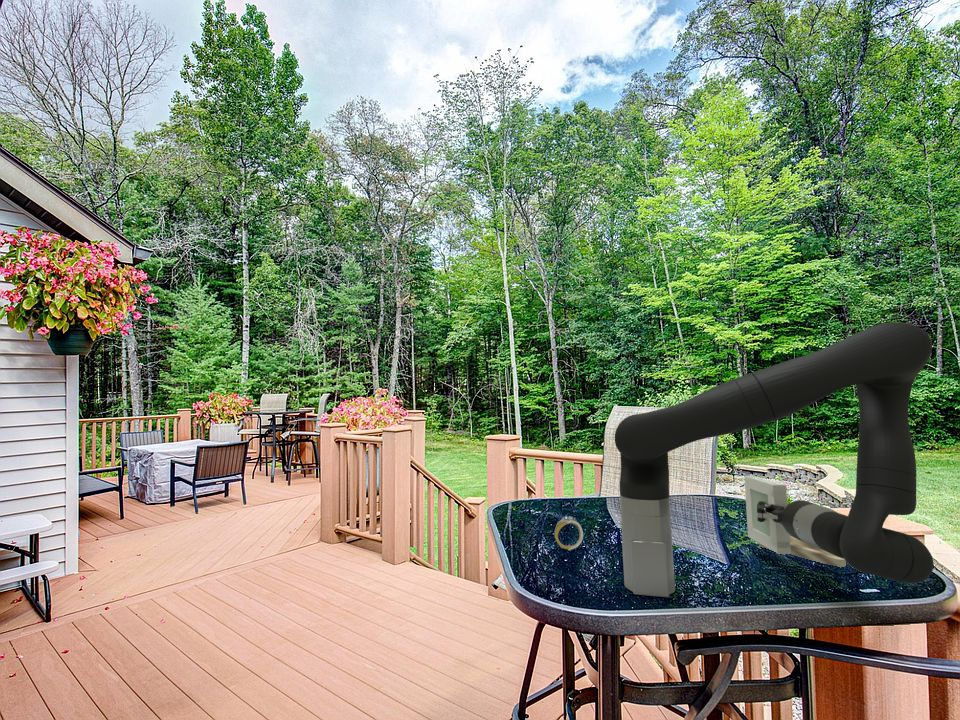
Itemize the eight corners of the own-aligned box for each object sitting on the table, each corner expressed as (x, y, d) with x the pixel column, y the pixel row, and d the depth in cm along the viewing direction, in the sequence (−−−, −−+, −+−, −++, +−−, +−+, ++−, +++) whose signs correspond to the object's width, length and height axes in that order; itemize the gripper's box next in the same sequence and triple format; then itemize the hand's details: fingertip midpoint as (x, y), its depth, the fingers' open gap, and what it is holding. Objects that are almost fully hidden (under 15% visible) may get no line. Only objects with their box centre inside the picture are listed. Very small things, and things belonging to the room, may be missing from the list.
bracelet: (582, 547, 115) (580, 514, 116) (584, 551, 112) (583, 517, 113) (554, 548, 115) (553, 515, 116) (556, 552, 112) (555, 518, 113)
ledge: (867, 571, 95) (865, 556, 95) (841, 575, 93) (839, 560, 94) (782, 545, 114) (781, 532, 115) (759, 547, 113) (758, 534, 113)
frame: (790, 554, 96) (786, 485, 97) (777, 553, 96) (773, 484, 97) (759, 536, 108) (755, 476, 110) (748, 536, 109) (744, 476, 110)
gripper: (855, 505, 85) (799, 489, 102) (774, 503, 86) (733, 488, 103) (858, 547, 84) (802, 524, 101) (777, 545, 85) (735, 522, 102)
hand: (767, 506), depth 102 cm, fingers closed on frame, 2 cm apart
